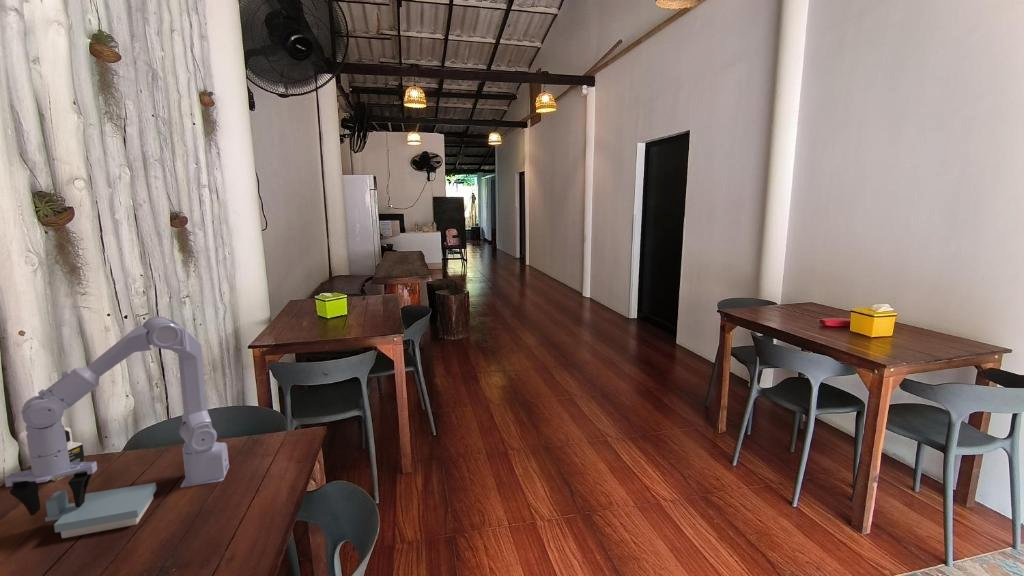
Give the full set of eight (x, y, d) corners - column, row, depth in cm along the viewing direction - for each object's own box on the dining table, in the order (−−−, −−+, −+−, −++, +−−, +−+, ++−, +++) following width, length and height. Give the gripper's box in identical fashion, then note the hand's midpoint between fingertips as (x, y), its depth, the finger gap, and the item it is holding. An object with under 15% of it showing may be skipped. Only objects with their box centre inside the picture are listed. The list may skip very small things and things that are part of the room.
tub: (153, 500, 110) (152, 487, 110) (137, 526, 101) (135, 512, 101) (86, 512, 106) (84, 498, 105) (62, 540, 97) (59, 525, 96)
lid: (156, 489, 111) (154, 469, 110) (138, 517, 101) (135, 495, 100) (66, 504, 105) (62, 483, 104) (36, 536, 94) (32, 512, 94)
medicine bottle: (56, 481, 118) (49, 438, 116) (34, 478, 119) (27, 435, 117) (86, 466, 125) (80, 425, 123) (66, 463, 126) (59, 423, 124)
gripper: (-10, 466, 91) (1, 527, 93) (82, 453, 96) (90, 512, 99) (13, 449, 98) (23, 507, 100) (98, 438, 103) (106, 493, 105)
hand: (58, 508), depth 100 cm, fingers open, 7 cm apart
